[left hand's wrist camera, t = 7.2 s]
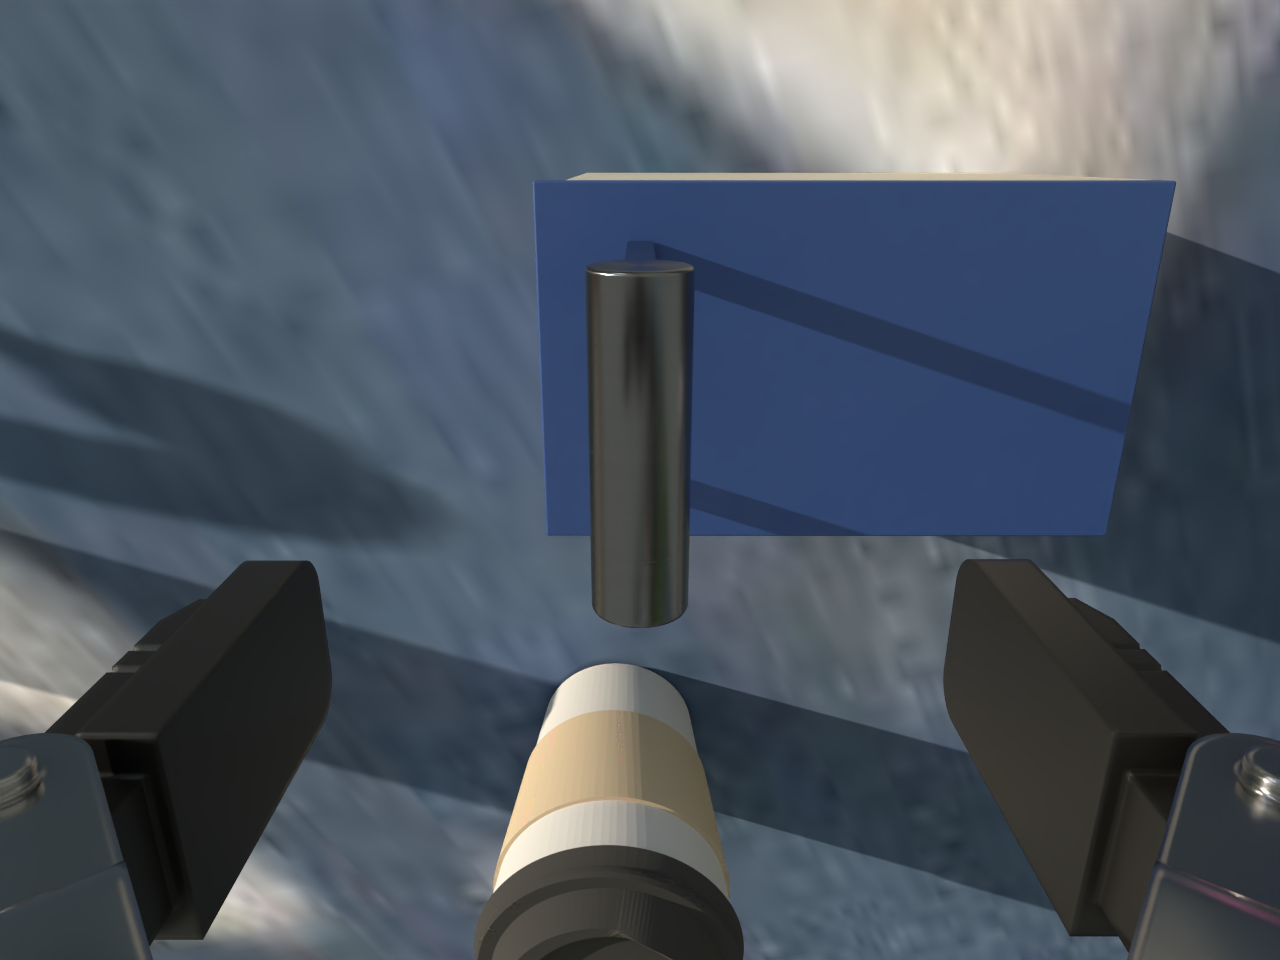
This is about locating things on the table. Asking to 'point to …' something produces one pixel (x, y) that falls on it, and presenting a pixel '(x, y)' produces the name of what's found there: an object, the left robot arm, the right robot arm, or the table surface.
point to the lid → (833, 362)
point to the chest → (830, 176)
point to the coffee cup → (612, 834)
